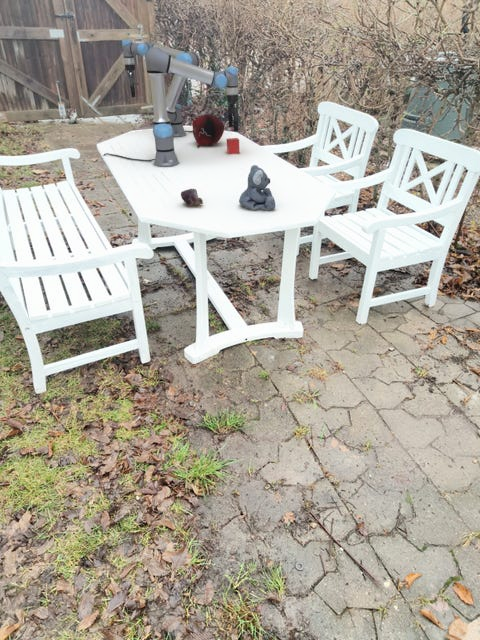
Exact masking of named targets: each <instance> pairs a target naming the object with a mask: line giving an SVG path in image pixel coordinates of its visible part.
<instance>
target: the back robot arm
mask: <svg viewBox="0 0 480 640" xmlns="http://www.w3.org/2000/svg"><path fill="white" fill-rule="evenodd" d="M151 47H157V48H159V49H161V50H162V52H164V53H166V54H168V55H171V56H172V57H173V58H174V59H177V60H180V61H183V62H186V63H189V64H192V65H195V66H199V67H200V65H201V59H200V55H199V54H198V53H197V52H195V51H190V50H185V51H183V50H180V49H176V48H172V47H168V46H166V45H165V46H164V45H160V44H156V43H155V42H153V41H148V42H139V43H138V42H137V43H136V42H133V40H132V39H122V40H121V49H122V54H123V63H124V70H125V71H128V72H127V75H128V79H129V88H130V94H131V95H130V96H131V98H136V87H135V85H136V83H135V80H134V79H135V77H134V76H135V74H134V71H136V64H135V63H136V62H135V61H136V59H135V56H141V57H142V56H143V57H145V53H146V51H147V50H148V49H149V48H151ZM187 79H188V78H187V77H184V76H181V75H178V74H175V73H174V75H173V77H172V80H171V82H170V85H169V88H168V90H167V93H166V105H167V116H168V118H169V119H170V123H171V126H172V129H173V138H178V137H184V136H186V133H193V130H185V128H184V126H183V111H182V105H181V104H180V103H178V100H179V98H180V95H181V93H182V90H183V88H184V86H185V83H186V81H187Z"/></svg>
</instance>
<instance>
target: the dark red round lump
mask: <svg viewBox="0 0 480 640" xmlns="http://www.w3.org/2000/svg"><path fill="white" fill-rule="evenodd" d="M190 119H191V121H192V131H193V132H192V135H193V138H194V140H195V142H196V144H197V149H199V148H200V146H214V145H215V144H217V143H219V141H220V140H221V139H222V137H223V134H224V133H225V125H224V123H223V122H222V120H221V119H219V118H218V117H217V115H214V114H208V113H206V114H202V115H200V116H199V117H197V118H196V119H195V118H193V117H192V116H191V117H190Z"/></svg>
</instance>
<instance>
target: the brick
mask: <svg viewBox="0 0 480 640" xmlns="http://www.w3.org/2000/svg"><path fill="white" fill-rule="evenodd" d="M226 153H227V154H228V155H237V154H240V139H239V138H237V137H233V138H226Z"/></svg>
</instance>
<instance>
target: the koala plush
mask: <svg viewBox="0 0 480 640" xmlns="http://www.w3.org/2000/svg"><path fill="white" fill-rule="evenodd" d="M270 183H271V178H269V176H268V175H267V173H266V172H265V170H264V169H263V168H261V167H259V165H257V164H253V165H250V170H249V173H248V176H247V188H246V189H245V190H244V191H243V192H242V193H241V194H240V197H239V199H238V203H239V204H240V206H241V207H242V208H246V209H247V210H252V211H255V210H261V211H272V210H274V209H275V208H276V200H275V198H274V196H273V194H272V191H271V188H270V187H268V186H269V185H270Z"/></svg>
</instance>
